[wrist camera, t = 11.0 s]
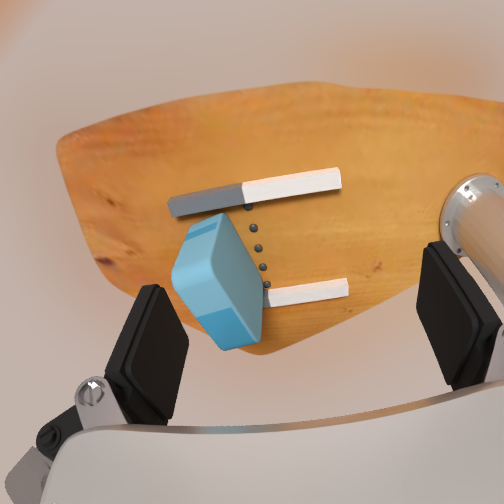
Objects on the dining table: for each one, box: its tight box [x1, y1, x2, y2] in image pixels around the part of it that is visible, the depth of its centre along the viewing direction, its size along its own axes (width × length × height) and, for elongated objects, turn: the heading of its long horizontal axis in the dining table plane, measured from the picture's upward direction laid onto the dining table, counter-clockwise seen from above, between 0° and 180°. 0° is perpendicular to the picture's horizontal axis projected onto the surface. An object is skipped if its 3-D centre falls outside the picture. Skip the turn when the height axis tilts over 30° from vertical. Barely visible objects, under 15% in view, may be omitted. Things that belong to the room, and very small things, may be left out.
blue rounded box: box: [171, 213, 263, 351], centre depth 37 cm, size 12×4×12 cm, turn 25°
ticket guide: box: [167, 167, 349, 308], centre depth 40 cm, size 20×18×2 cm
